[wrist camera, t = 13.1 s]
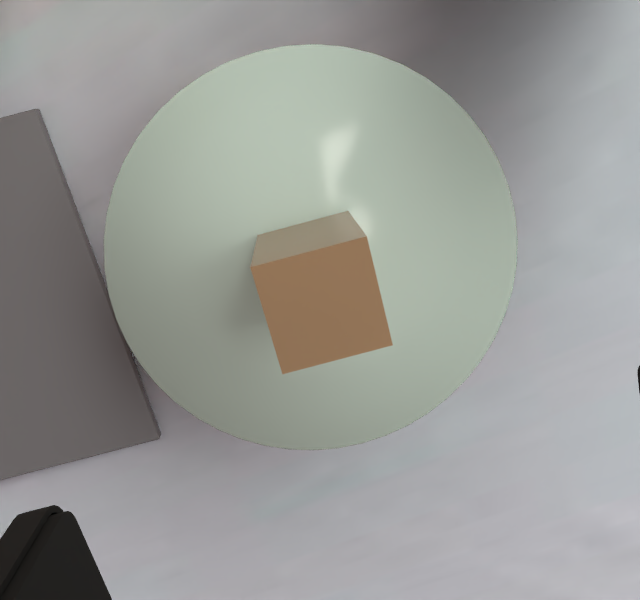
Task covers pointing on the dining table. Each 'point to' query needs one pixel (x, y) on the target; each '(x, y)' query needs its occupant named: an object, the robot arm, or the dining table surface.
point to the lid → (310, 247)
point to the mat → (56, 321)
